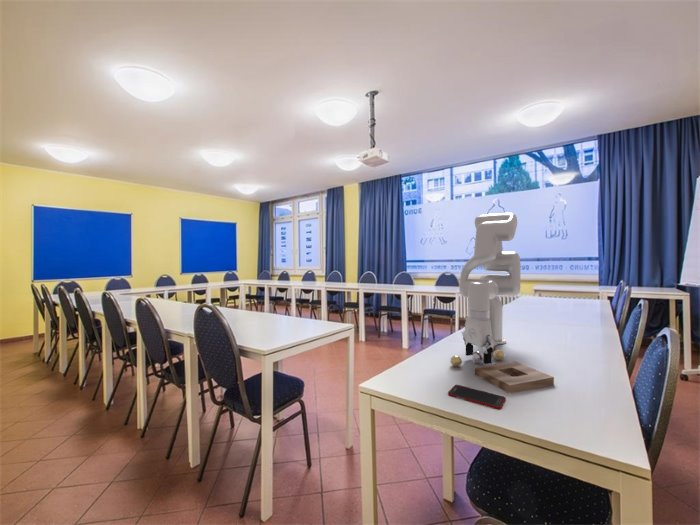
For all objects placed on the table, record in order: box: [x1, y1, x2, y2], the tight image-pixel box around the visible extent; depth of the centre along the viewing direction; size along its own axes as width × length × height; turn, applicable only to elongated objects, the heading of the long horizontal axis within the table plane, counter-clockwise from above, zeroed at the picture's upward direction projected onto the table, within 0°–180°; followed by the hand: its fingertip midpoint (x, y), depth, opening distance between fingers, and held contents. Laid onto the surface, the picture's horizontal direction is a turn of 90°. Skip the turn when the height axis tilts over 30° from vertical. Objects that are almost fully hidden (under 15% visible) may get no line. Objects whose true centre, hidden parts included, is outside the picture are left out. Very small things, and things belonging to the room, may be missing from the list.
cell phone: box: [447, 384, 507, 410], centre depth 90 cm, size 8×15×1 cm, turn 53°
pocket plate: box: [474, 361, 555, 394], centre depth 102 cm, size 15×18×2 cm
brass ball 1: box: [450, 355, 463, 368], centre depth 114 cm, size 4×4×4 cm
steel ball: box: [471, 350, 484, 364], centre depth 117 cm, size 4×4×4 cm
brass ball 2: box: [492, 349, 506, 361], centre depth 121 cm, size 4×4×4 cm
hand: (478, 359), depth 117 cm, fingers open, 9 cm apart
